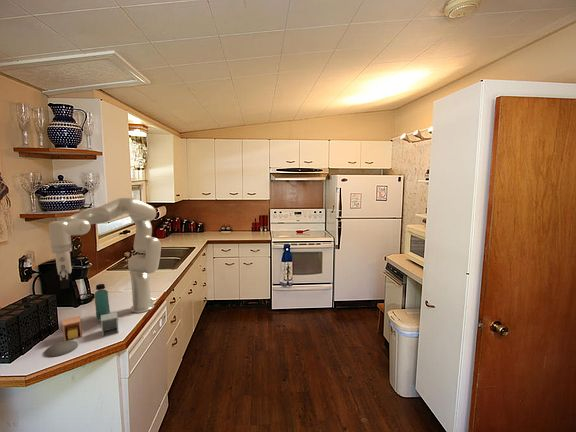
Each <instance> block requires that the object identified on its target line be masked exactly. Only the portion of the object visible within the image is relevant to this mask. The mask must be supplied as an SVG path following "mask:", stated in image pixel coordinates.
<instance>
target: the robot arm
mask: <svg viewBox="0 0 576 432" xmlns="http://www.w3.org/2000/svg"><path fill="white" fill-rule="evenodd" d="M123 215H128V217H130V219H131V220H132V221H133V223H134V225H135V234H134V241H133V249H134V251H135V252H137V253H141V254H135V255H132V256H131V257H130V258H128V262H127V267H128V271H129V275H130V283H131V284H130V285H131V295H132V306H130V309H129V310H130V312H132V313H134V314H135V313H136V314H137V313H145V312H148V311H151V310H153V309H154V307H155V304H154V302H156V301H158V300H159V297H157V296H156V297H151V284H150V276H149V274H154V273H155V272H156V271H157V270H158V268H159V266H160V265H159V264H160V260H161V254H162V253H161V252H162V251H161V250H162V243H161V240H159V239H158V238H157V237H154V236H152V234H153V226H152V223H151V221H153V220H155V218H156V217H157V210H156V208H155V207H154V206H153V205H150V204H149V203H146V202H144V201H142V200H139V199H137V198H133V197H120V198H117V199H114V200H112V201H110V202H108V203H104V204H103V205H100V206H98V207H94V208H89V209H87V210H83V211H80V212H76V213H74V214H73V215H70V216H67V217H65V218H64V219H62V220H55V221H50V222H49V224H48V232H49V239H50V240H49V241H50V248H51V250H50V251H51V254H54V256H55V264H56V270H57V275H58V276H59V286H60V289H61V290H65V289H69V288H70V282H71V279H70V278H71V277H70V274H71V273H72V262H71V253H70V252H72V251H73V247H72V246H73V245H72V238H71V236H83V235H87V234H88V233H89V232H90V230H91V227H92V226H91V225H96V224H98V225H99V224H105V223H108V222H111V221H113V220H115V219H117V218H119V217H120V216H123ZM142 254H145V255H142Z"/></svg>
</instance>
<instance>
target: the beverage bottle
mask: <svg viewBox="0 0 576 432" xmlns="http://www.w3.org/2000/svg"><path fill="white" fill-rule="evenodd" d="M95 285H96V286H95V290H96V291H95V292H94V305H95V317H96V320H97V321H101V315H105V314H110V313H111V311H110V301H109V291H108V290H107V289H106V285H105V284H104V283H98V284H95Z"/></svg>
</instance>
